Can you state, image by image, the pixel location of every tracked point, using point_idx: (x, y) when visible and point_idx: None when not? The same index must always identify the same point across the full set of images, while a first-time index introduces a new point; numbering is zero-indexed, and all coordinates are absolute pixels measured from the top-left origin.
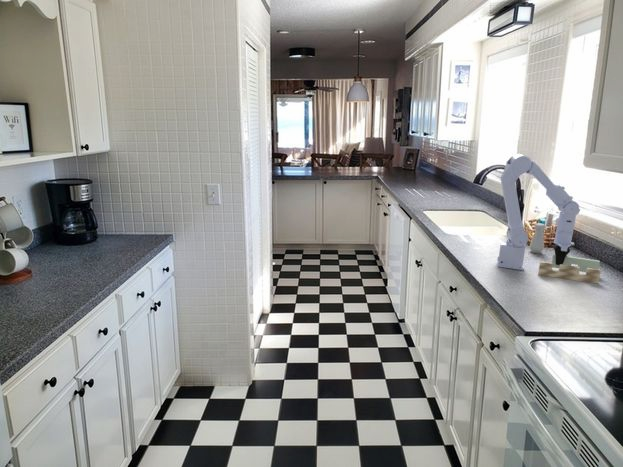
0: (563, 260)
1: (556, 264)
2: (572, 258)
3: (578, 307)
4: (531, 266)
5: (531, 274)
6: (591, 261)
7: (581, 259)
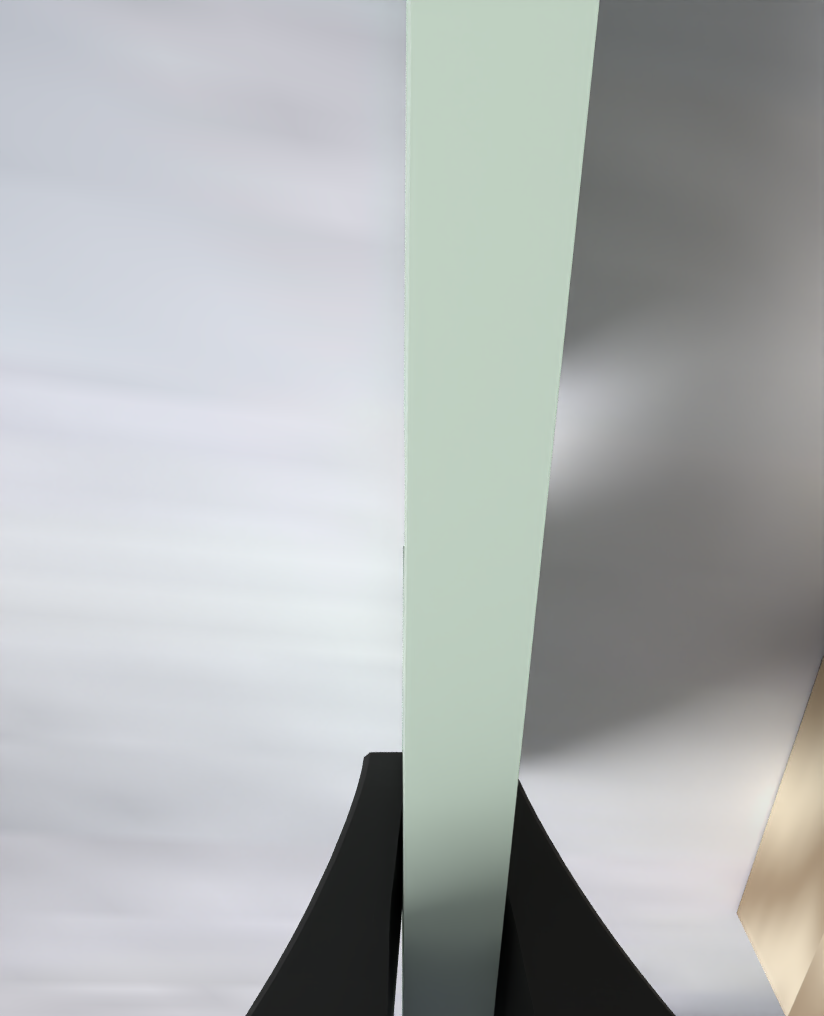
0: (553, 855)
1: None
2: (519, 750)
3: None
4: None
5: None
6: (586, 34)
7: (537, 493)
